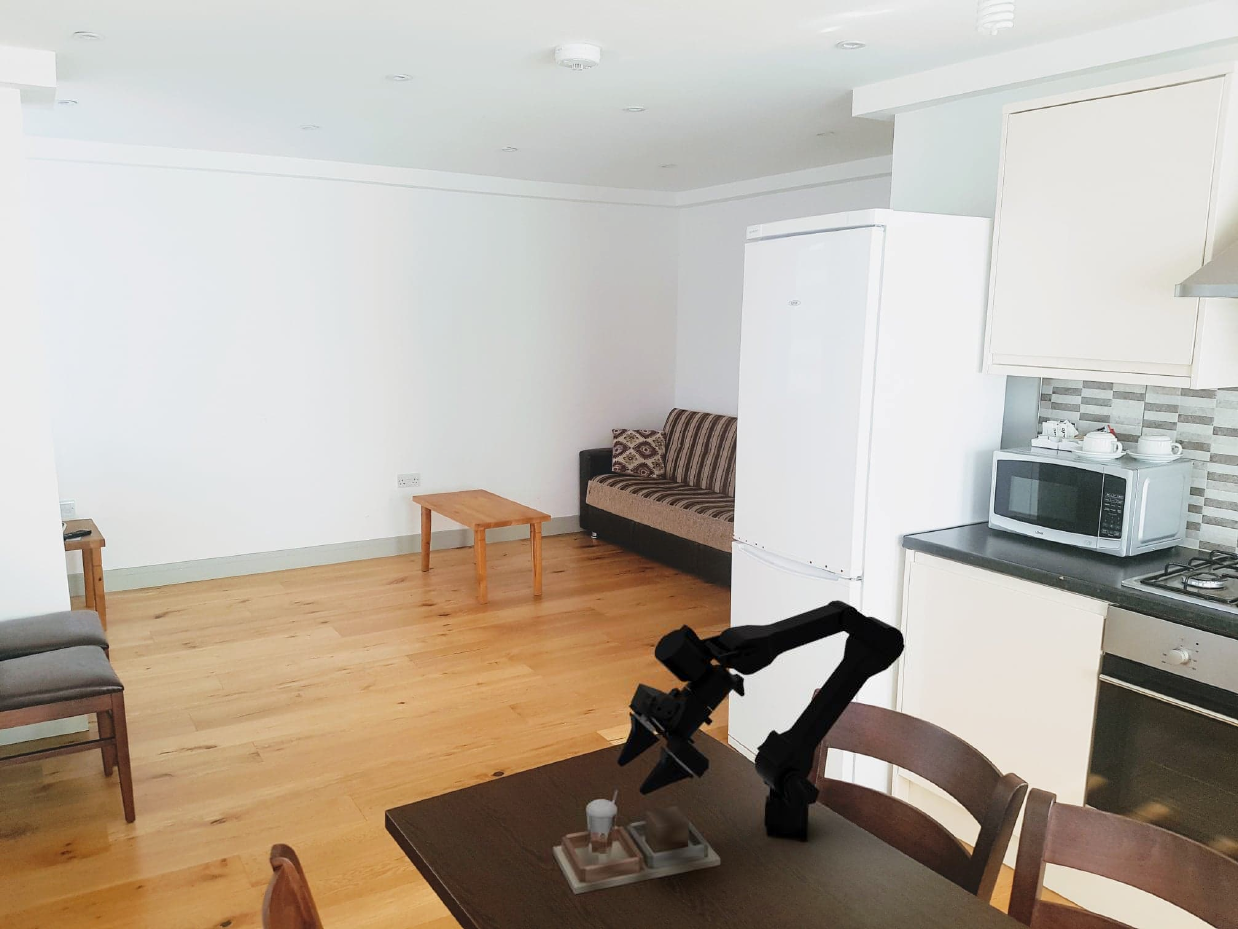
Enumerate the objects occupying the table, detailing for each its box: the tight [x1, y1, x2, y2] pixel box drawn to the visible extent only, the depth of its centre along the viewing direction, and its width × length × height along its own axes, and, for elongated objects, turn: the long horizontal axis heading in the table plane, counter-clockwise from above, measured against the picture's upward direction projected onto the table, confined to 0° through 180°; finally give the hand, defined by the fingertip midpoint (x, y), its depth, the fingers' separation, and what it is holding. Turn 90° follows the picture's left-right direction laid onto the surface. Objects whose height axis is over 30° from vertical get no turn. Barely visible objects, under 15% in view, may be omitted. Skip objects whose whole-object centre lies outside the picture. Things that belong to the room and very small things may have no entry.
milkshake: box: [585, 789, 619, 865], centre depth 139 cm, size 4×5×10 cm
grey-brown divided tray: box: [552, 805, 721, 895], centre depth 141 cm, size 23×11×6 cm, turn 110°
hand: (629, 778), depth 139 cm, fingers open, 9 cm apart
